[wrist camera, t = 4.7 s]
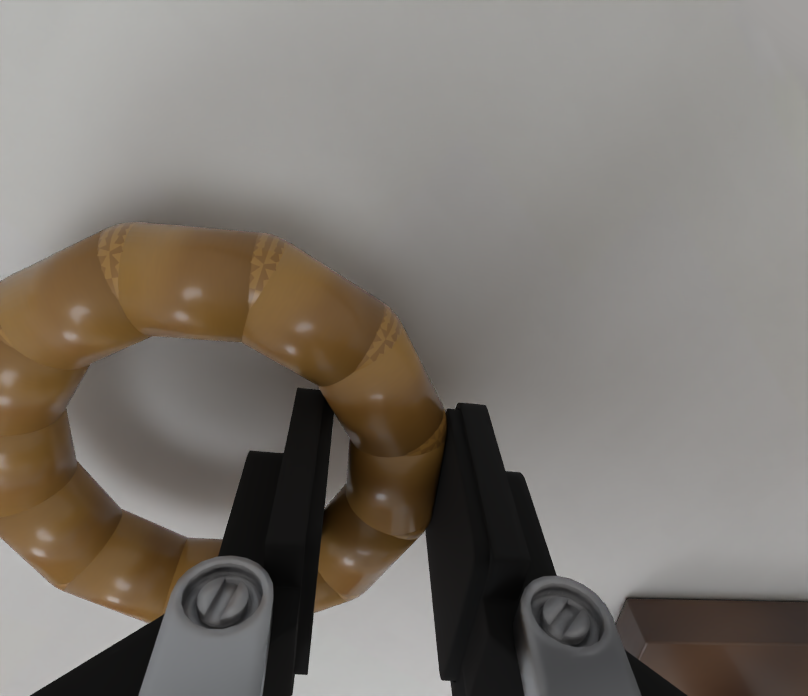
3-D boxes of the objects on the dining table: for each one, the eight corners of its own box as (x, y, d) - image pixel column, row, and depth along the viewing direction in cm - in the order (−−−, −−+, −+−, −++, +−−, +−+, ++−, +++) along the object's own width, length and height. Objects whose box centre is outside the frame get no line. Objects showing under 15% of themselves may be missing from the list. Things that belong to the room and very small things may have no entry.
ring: (468, 236, 10) (485, 274, 9) (412, 584, 15) (416, 652, 13) (-68, 188, 10) (-154, 221, 8) (33, 570, 14) (-10, 641, 12)
